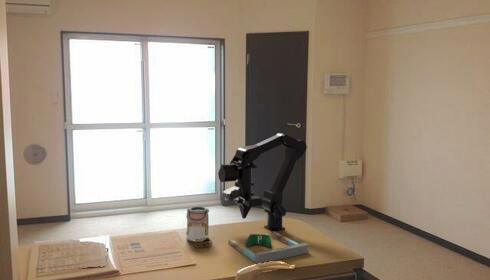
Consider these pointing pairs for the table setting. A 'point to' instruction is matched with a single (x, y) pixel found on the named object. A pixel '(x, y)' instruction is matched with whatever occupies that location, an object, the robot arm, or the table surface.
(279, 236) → the rails
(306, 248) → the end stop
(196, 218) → the pink white can
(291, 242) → the teal band
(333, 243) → the table surface
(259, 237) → the gaming controller
